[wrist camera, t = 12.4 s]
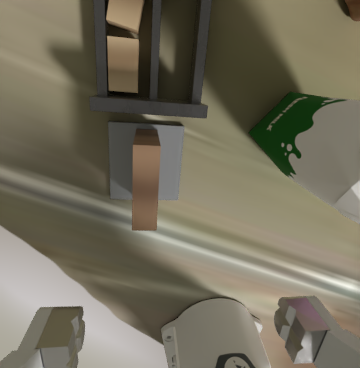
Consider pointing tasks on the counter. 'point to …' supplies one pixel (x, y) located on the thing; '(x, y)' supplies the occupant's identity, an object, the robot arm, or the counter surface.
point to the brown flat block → (145, 179)
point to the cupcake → (354, 9)
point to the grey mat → (123, 158)
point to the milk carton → (316, 147)
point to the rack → (152, 69)
